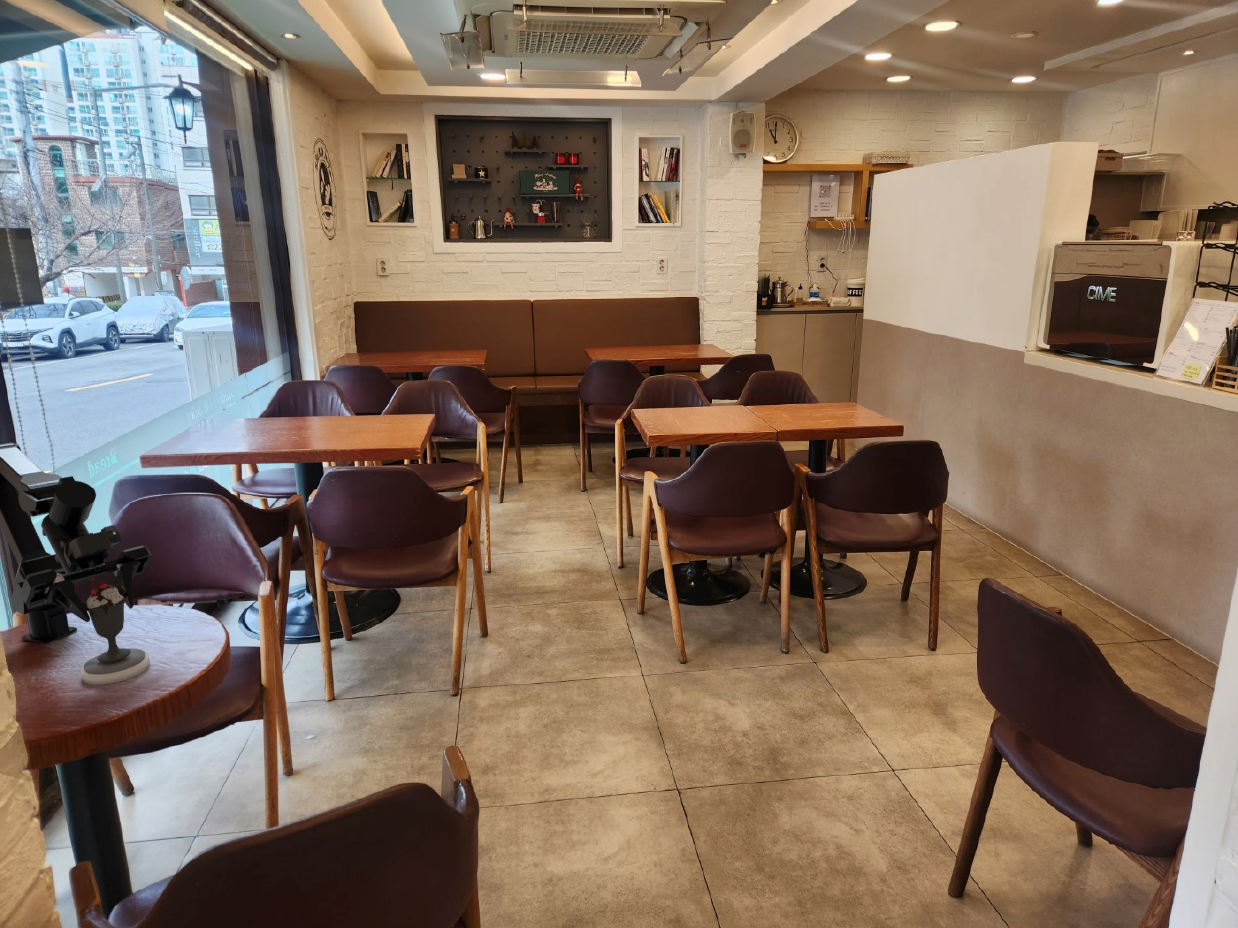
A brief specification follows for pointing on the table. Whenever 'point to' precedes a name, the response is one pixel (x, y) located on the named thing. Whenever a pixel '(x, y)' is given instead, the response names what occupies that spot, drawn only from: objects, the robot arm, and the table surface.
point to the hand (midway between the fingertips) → (110, 613)
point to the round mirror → (115, 668)
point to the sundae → (108, 617)
